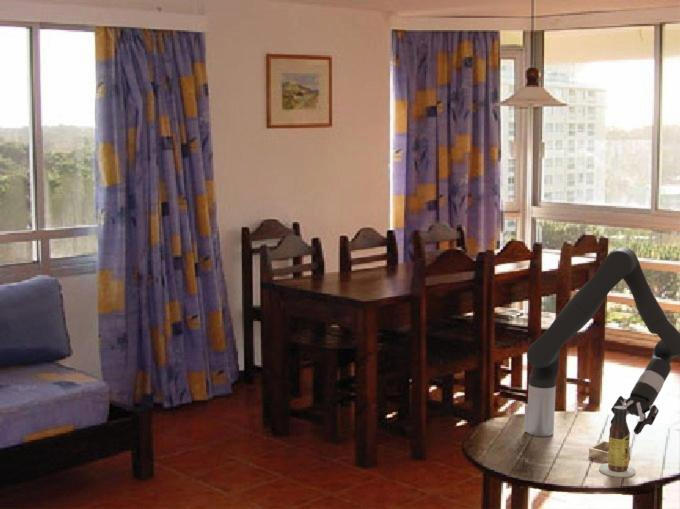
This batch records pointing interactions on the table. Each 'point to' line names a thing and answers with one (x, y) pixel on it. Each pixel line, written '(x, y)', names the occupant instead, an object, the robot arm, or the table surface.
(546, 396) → the robot arm
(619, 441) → the sauce bottle
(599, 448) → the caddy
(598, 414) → the table surface
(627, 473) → the trivet
